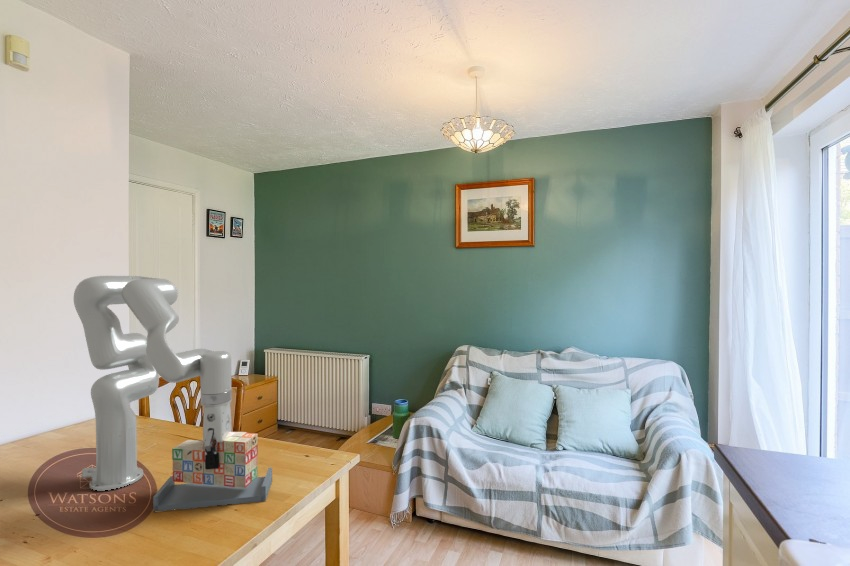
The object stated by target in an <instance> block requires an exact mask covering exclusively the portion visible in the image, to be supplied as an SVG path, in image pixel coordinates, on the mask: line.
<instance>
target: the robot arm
mask: <svg viewBox="0 0 850 566" xmlns="http://www.w3.org/2000/svg"><path fill="white" fill-rule="evenodd" d="M178 294H179V293H178V289H177V287H176V285H175V284H174V283H173V282H172V281H170V280H168V279H167V278H157V277H155V278H154V277H148V276H140V275H139V276H138V275H96V276H91V277H87V278H85V279H83V280H81V281H80V282H79V283H78V284H77V285H76V287H75V289H74V292H73V305H74V308H75V310H76V313H77V315H78V317H79V319H80V321H81V324H82V327H83V328H82V329H83V332H84V336H85V341H86V347H87V349H88V356H89V358H90V361H91V364H92V366H93V367H94V368H95V369H97V370H100V371H101V370H102V371H103V370H104V371H105V370H110V369H116V368H121V367H122V368H123V367H125V366H126V367H128V369H126V370H121V371H117V372H111V373H108V374H105V375H103V376H101V377H99V378H98V379H97V380H95V381H94V383H93V384H92V386H91V388H90V397H91V398H90V399H91V402H92V404H93V410H94V417H95V444H96V445H95V451H96V452H95V453H96V455H95V457H96V460H95V461H96V465H95V467H84V468H82V470H81V479H88V478H91V479H90V481H89V489H91V490H92V489H93V490H92V491H95V490H97V491H96V492H106V491H105V490H108V491H112V490H111V489H114V490H117V489H116V488H118V489H121V488H120V487H122V488H125V487H127V485H128V486H130V485H132V484H135V483H136V482H137V481H139V480H140V479H142V477H143V476H144V470H143V468H141V467H138V465H137V464H138V452H137V451H138V444H137V443H138V442H137V439H138V438H137V437H138V435H137V431H138V430H137V428H138V427H137V425H138V424H137V416H136V413H135V412H134V410H133V408H131V406H130V403H132V402H135V401H138V400H140V399H143V398H148V397H149V396H151V395H153V394H154V393H156V392H157V390H158V388H159V385H160V377H161V378H162V379H163V380H164V381H166V382H168V383H172V384H173V383H181V382H184V381H187V380H190V379H193V378H194V379H195V378H197V377H200V406H201V407H203V417H202V418H203V419H202V420H203V421H202V441H203V442H204V443H205V469H206V470H207V469H217V468H218V467H219V453H217V452H218V443H219V442H220V443H223V440H224V439H225V438H226V436H227V435H228V434H229V432H232V429H233V427H232V411H231V402H232V401H233V400H232V356H231V353H230V352H228V351H225V350H210V349H206V348H195V349H190V350H186V351H182V352H177V353H176V352H175V351H174V350H173V349H172V347H171V346H170V344H169V343H168V341H167V338H166V334H167V333H169V332H170V331H172V330H173V329H174V328H175V327H176V326H177V324H178V323H179V321H180V318H179V315H178V313H177V312H176V311H175V310H174V308H173V307H172V305H173V304H175V303H176V301H177V299H178V296H179V295H178ZM124 304H125V305H127V307H128V308H129V309H130V311H131V312H132V314H133V315H134V316H135V318H136V319H137V320H138V322H139V323H140V324H141V326H142V327H143V328H144V330H145V332H146V333H147V335H146V336H145V335H144V334H143V333H138V332H130V333H125V334H124V333H123V331H122V326H121V322H120V320H119V317H118V316H117V315H116V314H115V312H114V311H113V310H112V309H110V308H109V307H108V306H110V305H124ZM214 439H216V441H213V442H212V440H214ZM214 444H215V449H214V447H213V446H212V445H214ZM129 484H130V485H129ZM124 486H125V487H124Z"/></svg>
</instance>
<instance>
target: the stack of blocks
mask: <svg viewBox="0 0 850 566" xmlns="http://www.w3.org/2000/svg"><path fill="white" fill-rule="evenodd" d="M258 435H259V434H258V433H252V432H247V431H231V432H229V434H228V435H227V436H226V438H225V439H224V440H223V443H220V442H219V443H218V452H217V453H219V467H218V468H217V469H207V470H206V469H205V443H204V442H203V440H196V439H194V440H193V439H187V440H185V441H184V442H181V443H179V444H178V445H176V446H174V447H172V450H171V458H172V476H173V482H175V483H183V484H188V483H195V484H208V485H220V486H229V487H240V488H246V487H247V486H248V485H249V484H250V483H251V482H252V481H253V480H254V479H256V478H257V477H258V455H259V453H258V451H259V450H258V446H259V445H258ZM213 441H216V439H214V440H212V442H213ZM212 446H213V447H214V449H215V444H214V445H212Z"/></svg>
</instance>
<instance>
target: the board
mask: <svg viewBox="0 0 850 566" xmlns="http://www.w3.org/2000/svg"><path fill="white" fill-rule="evenodd" d="M266 471H267V472H266V474H265V476H257V478H256V479H254V480H253V481H252V482H251V483H250V484H249V485H248V486H247V487H246V488H240V487H229V486H220V485H208V484H195V483H179V484H177V483H176V482H173V475H170V476H169V478H168V479H167V480H166V481H165V482H164V483H163V485H162V486H161V487H160V488H159V489H158V490H157V492H156V493H155V494H154V495H153V496H152V504H153V506H152V507H153V509H152V512H153V513H155V512H154V511H162V512H166V511H165V510H172V511H175V510H174V509H182V510H189V509H190V510H192V509H198V508H197V507H202V508H209V507H208V506H212V507H218V506H217V505H222V506H228V505H227V504H232V505H239V504H240V503H242V504H249V503H250V504H251V503H259V502H267V498H268V495H269V493H270V490H271V489H270V488H271V486H272V482H273V467H267V470H266ZM175 483H176V484H175ZM191 508H192V509H191Z"/></svg>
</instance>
